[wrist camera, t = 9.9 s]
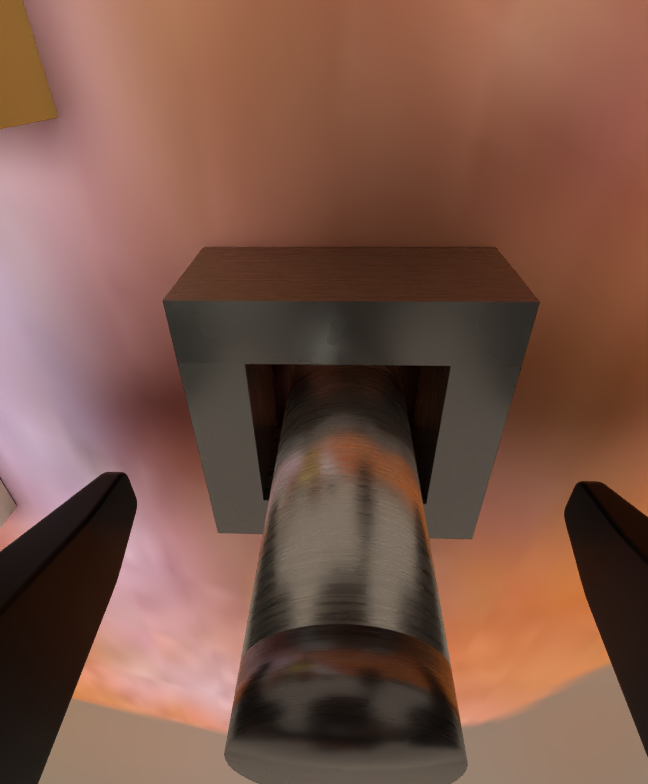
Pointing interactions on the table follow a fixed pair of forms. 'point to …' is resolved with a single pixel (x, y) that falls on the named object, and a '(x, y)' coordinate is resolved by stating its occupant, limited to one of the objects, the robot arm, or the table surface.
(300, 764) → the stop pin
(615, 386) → the table surface
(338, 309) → the pin bracket
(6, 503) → the tray
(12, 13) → the block
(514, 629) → the table surface
